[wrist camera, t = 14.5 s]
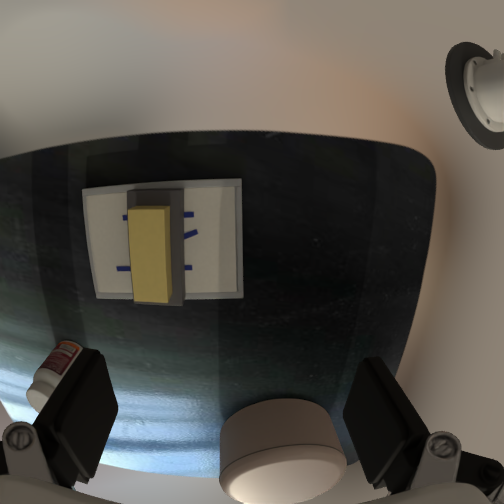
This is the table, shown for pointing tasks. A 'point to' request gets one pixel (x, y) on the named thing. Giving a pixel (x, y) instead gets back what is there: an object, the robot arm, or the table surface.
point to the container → (279, 453)
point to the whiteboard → (195, 237)
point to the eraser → (156, 245)
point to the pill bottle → (51, 373)
